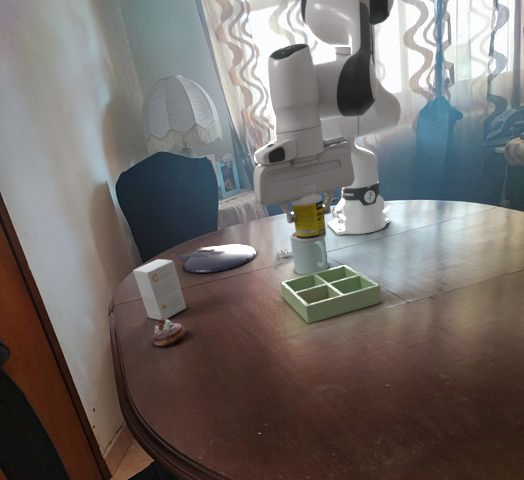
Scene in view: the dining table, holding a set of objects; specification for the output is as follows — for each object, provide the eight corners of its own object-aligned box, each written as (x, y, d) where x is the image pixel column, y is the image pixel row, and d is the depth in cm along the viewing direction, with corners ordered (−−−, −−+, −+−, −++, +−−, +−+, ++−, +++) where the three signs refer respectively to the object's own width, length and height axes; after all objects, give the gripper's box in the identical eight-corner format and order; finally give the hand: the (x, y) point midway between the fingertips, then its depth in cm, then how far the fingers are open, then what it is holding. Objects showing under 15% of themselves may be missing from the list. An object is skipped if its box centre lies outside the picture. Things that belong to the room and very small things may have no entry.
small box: (171, 305, 123) (157, 258, 117) (186, 308, 120) (173, 260, 113) (147, 317, 118) (132, 269, 112) (162, 321, 114) (147, 272, 108)
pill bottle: (325, 241, 93) (319, 185, 88) (295, 245, 95) (287, 189, 90) (327, 232, 99) (322, 179, 93) (299, 236, 100) (291, 183, 95)
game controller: (294, 253, 144) (293, 244, 143) (294, 265, 134) (293, 257, 133) (276, 255, 145) (275, 247, 144) (275, 268, 135) (274, 259, 134)
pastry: (156, 334, 109) (150, 315, 106) (187, 328, 108) (182, 309, 106) (151, 350, 102) (144, 330, 99) (184, 344, 101) (178, 323, 99)
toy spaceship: (162, 267, 155) (159, 258, 153) (214, 244, 169) (212, 236, 167) (217, 277, 136) (215, 267, 135) (271, 250, 150) (269, 241, 149)
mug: (289, 269, 132) (284, 234, 127) (317, 260, 135) (313, 226, 130) (312, 281, 121) (308, 244, 116) (343, 271, 123) (339, 234, 119)
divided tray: (283, 297, 115) (280, 282, 113) (346, 279, 118) (345, 264, 116) (308, 323, 100) (306, 306, 98) (381, 302, 103) (380, 285, 101)
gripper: (343, 134, 92) (348, 204, 99) (245, 155, 89) (258, 226, 96) (357, 135, 87) (362, 208, 94) (254, 157, 84) (267, 232, 90)
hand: (308, 218), depth 95 cm, fingers closed on pill bottle, 6 cm apart
